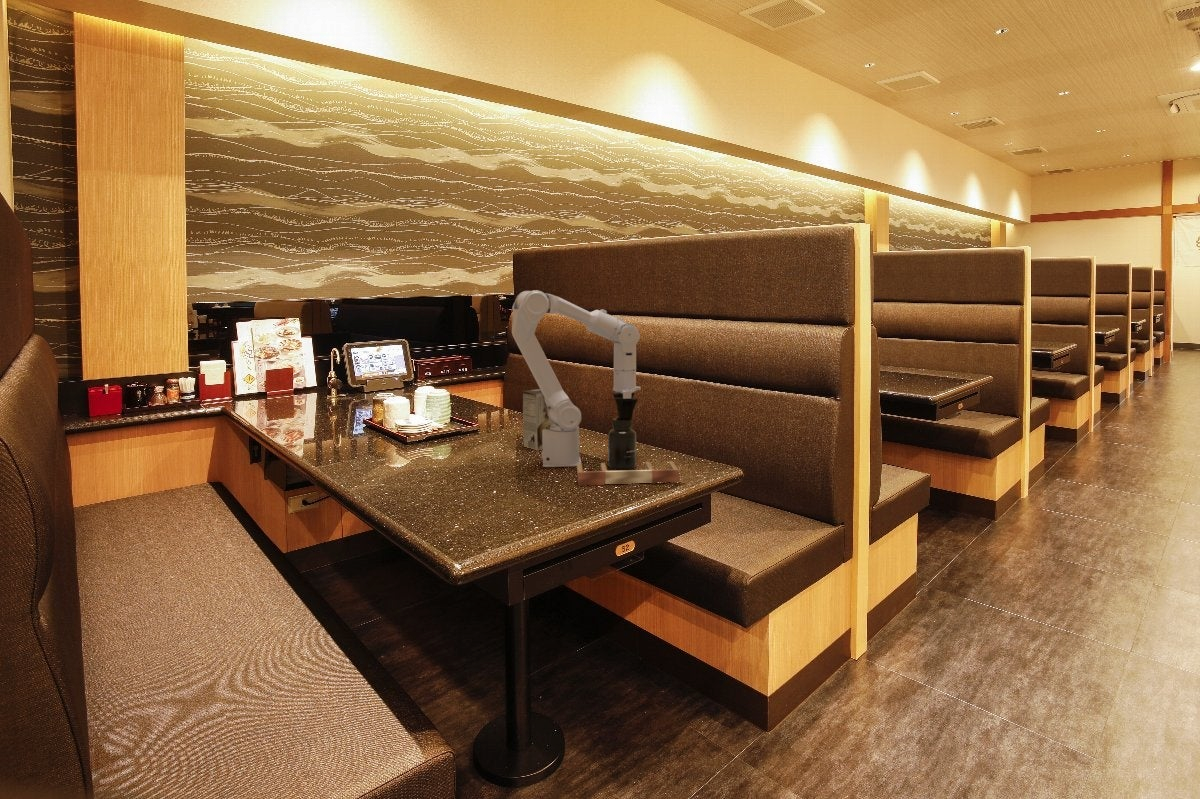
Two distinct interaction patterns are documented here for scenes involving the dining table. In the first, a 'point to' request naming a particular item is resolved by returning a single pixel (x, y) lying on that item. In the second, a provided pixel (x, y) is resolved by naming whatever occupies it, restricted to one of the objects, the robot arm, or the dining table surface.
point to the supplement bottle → (622, 444)
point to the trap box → (627, 475)
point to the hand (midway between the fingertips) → (624, 422)
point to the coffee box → (534, 418)
